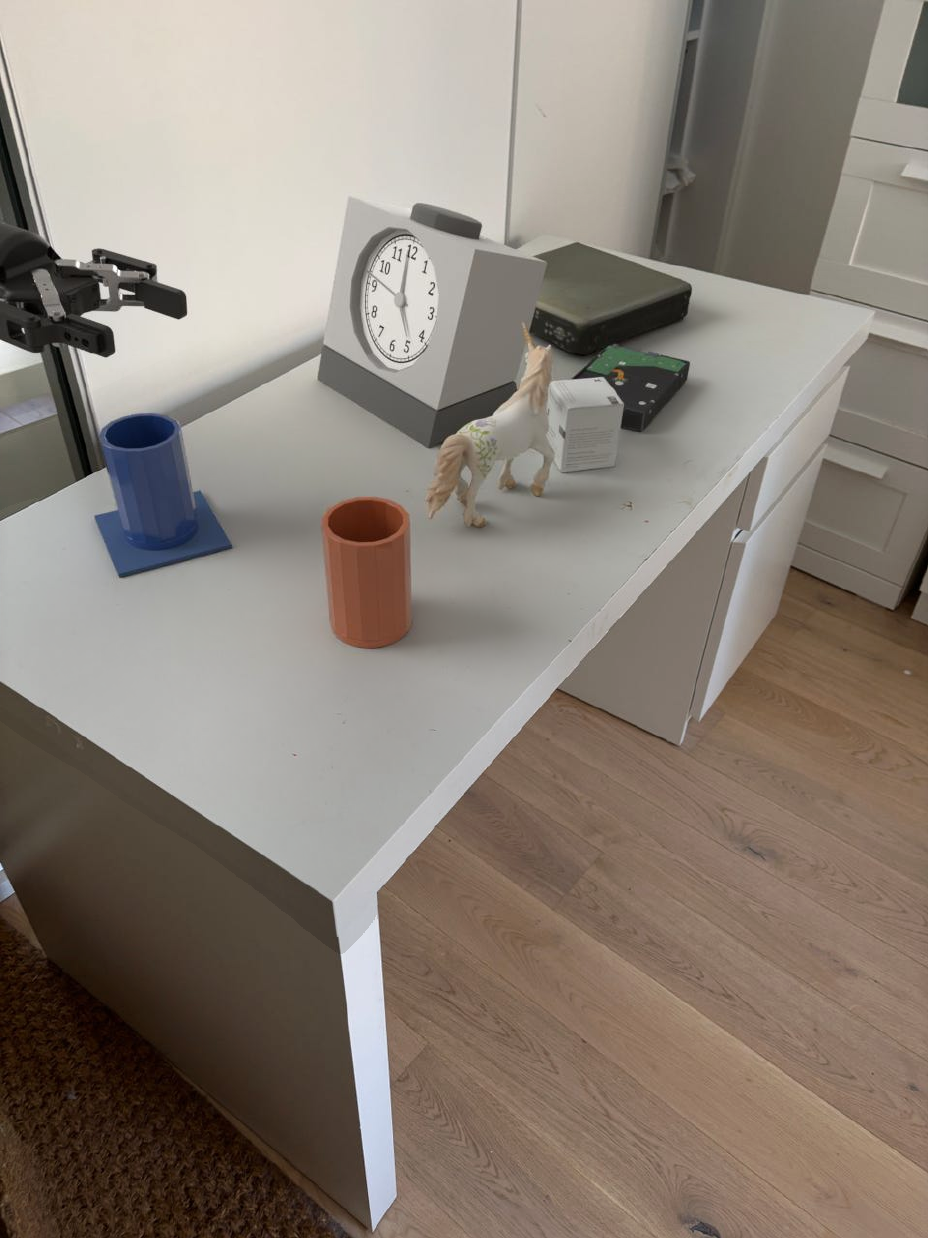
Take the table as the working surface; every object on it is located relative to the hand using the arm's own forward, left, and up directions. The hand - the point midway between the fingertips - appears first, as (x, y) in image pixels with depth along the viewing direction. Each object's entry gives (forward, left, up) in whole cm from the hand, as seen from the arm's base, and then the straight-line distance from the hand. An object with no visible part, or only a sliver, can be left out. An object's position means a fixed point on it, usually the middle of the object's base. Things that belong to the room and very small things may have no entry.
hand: (149, 323), depth 74 cm
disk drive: (+52, +7, -21) cm, 57 cm away
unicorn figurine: (+28, -3, -21) cm, 35 cm away
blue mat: (-2, +3, -21) cm, 21 cm away
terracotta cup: (+10, -17, -21) cm, 29 cm away
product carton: (+40, -2, -21) cm, 45 cm away
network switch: (+60, +29, -21) cm, 70 cm away
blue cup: (-2, +3, -20) cm, 21 cm away
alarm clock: (+32, +18, -21) cm, 42 cm away
